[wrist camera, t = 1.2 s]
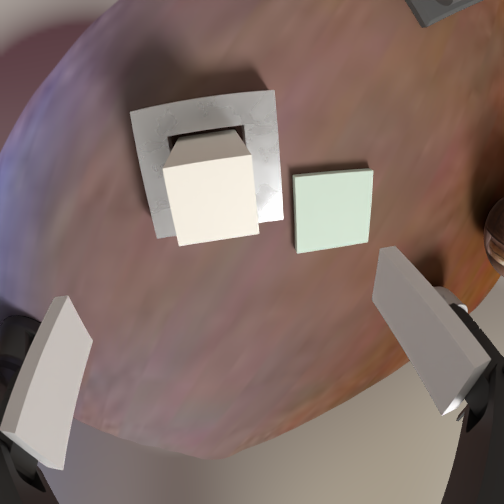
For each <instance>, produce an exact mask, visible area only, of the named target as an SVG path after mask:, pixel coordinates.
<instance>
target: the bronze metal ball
mask: <svg viewBox="0 0 504 504" xmlns="http://www.w3.org/2000/svg"><path fill="white" fill-rule="evenodd" d="M484 246H485V250H486V254H487V256H488V259H489V261H490V263H491V264H492V266H493V267H494V269H495V270H496V271H497V272H498V273H499V274H500V275H502V276H503V277H504V197H503V198H501V199H500V200H499V201H498V202H497V203H496V204H495V205H494V206H493V207H492V209H491V210H490V212H489V214H488V216H487V219H486V222H485V227H484Z"/></svg>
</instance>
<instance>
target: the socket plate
mask: <svg viewBox="0 0 504 504" xmlns="http://www.w3.org/2000/svg"><path fill="white" fill-rule="evenodd" d="M130 116H131V122H132V128H133V133H134V138H135V144H136V149H137V154H138V159H139V164H140V168H141V173H142V178H143V182H144V187H145V191H146V195H147V200H148V204H149V208H150V212H151V216H152V220H153V224H154V228H155V232H156V236H157V239H158V238H164V237H170V236H176V230H175V226H174V221H173V217H172V212H171V208H170V203H169V199H168V194H167V189H166V184H165V179H164V174H163V167H164V165H165V163H166V161H167V159H168V157H169V155H170V153H171V151H172V149H173V144H172V138H171V136H173V135H179V134H184V133H190V132H196V131H202V130H209V129H216V128H223V127H231V126H239V125H241V128H242V137H243V142H244V144H245V145H246V147H247V149H248V150H249V152H250V153H251V155H252V163H253V174H254V184H255V194H256V205H257V216H258V223H261V222H268V221H275V220H282V219H283V203H282V186H281V170H280V155H279V141H278V127H277V114H276V102H275V91H274V90H258V91H247V92H237V93H228V94H220V95H213V96H205V97H199V98H193V99H187V100H181V101H175V102H170V103H165V104H160V105H155V106H150V107H146V108H141V109H137V110H134V111H131V112H130Z"/></svg>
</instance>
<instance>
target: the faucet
mask: <svg viewBox="0 0 504 504" xmlns="http://www.w3.org/2000/svg"><path fill="white" fill-rule="evenodd" d="M405 1H406V3H407V4H408V6H409V7H410V9H411V11H412V12H413V14H414V16H415V17H416V19H417V21H418V22H419V24H420V26H421V27H422V28H423V27H428V26H430V25H432V24H434V23H436V22H438V21H440V20H442V19H444V18H446V17H448V16H450V15H452V14H454V13H456V12H458V11H460V10H462V9H465V8H467V7H469V6H471V5H473V4H476V3H478V2H480V1H483V0H405Z"/></svg>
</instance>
